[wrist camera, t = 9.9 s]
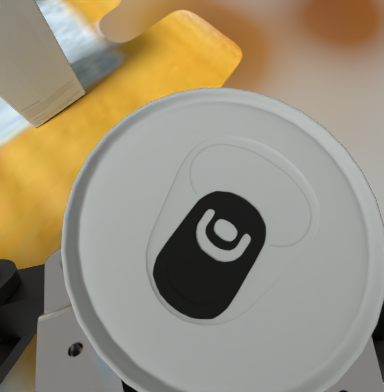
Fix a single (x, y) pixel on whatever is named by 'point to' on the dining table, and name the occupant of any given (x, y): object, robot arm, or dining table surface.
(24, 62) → the skincare box
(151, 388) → the energy drink can
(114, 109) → the dining table surface
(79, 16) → the dining table surface
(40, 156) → the dining table surface
